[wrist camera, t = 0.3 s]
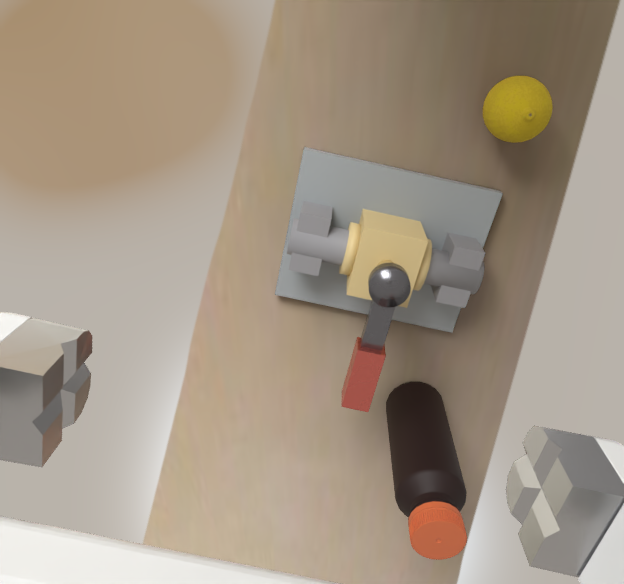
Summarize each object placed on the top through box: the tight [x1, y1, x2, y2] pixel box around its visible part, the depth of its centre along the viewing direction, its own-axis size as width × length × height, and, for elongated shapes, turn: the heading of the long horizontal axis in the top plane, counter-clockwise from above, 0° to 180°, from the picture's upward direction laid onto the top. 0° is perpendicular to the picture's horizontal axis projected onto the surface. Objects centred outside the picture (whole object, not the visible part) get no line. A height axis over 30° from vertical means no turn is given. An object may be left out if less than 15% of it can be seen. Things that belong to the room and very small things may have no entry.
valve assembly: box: [275, 147, 503, 333], centre depth 54 cm, size 20×16×10 cm
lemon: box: [483, 76, 553, 143], centre depth 48 cm, size 6×6×8 cm
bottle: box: [386, 382, 467, 560], centre depth 57 cm, size 7×7×20 cm
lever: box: [342, 263, 411, 412], centre depth 50 cm, size 4×14×2 cm, turn 168°
